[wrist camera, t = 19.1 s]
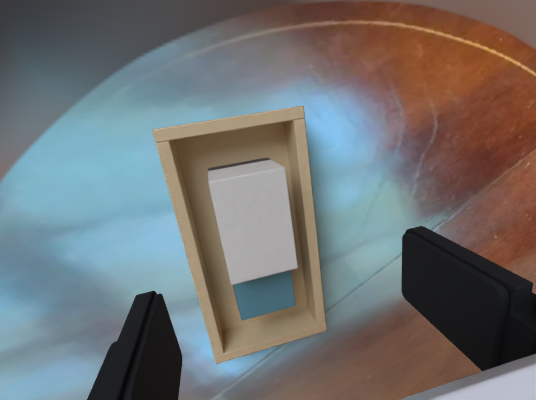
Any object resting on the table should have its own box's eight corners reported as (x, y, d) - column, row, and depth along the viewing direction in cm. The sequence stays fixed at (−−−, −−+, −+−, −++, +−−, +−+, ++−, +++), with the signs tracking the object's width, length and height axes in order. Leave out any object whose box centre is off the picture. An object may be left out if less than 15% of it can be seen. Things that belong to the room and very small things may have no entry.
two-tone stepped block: (207, 168, 20) (208, 181, 15) (268, 157, 21) (285, 167, 16) (237, 302, 24) (244, 345, 19) (287, 289, 24) (305, 327, 20)
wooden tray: (160, 128, 19) (151, 129, 16) (290, 107, 21) (304, 105, 18) (215, 335, 25) (216, 364, 22) (313, 307, 26) (326, 330, 23)
